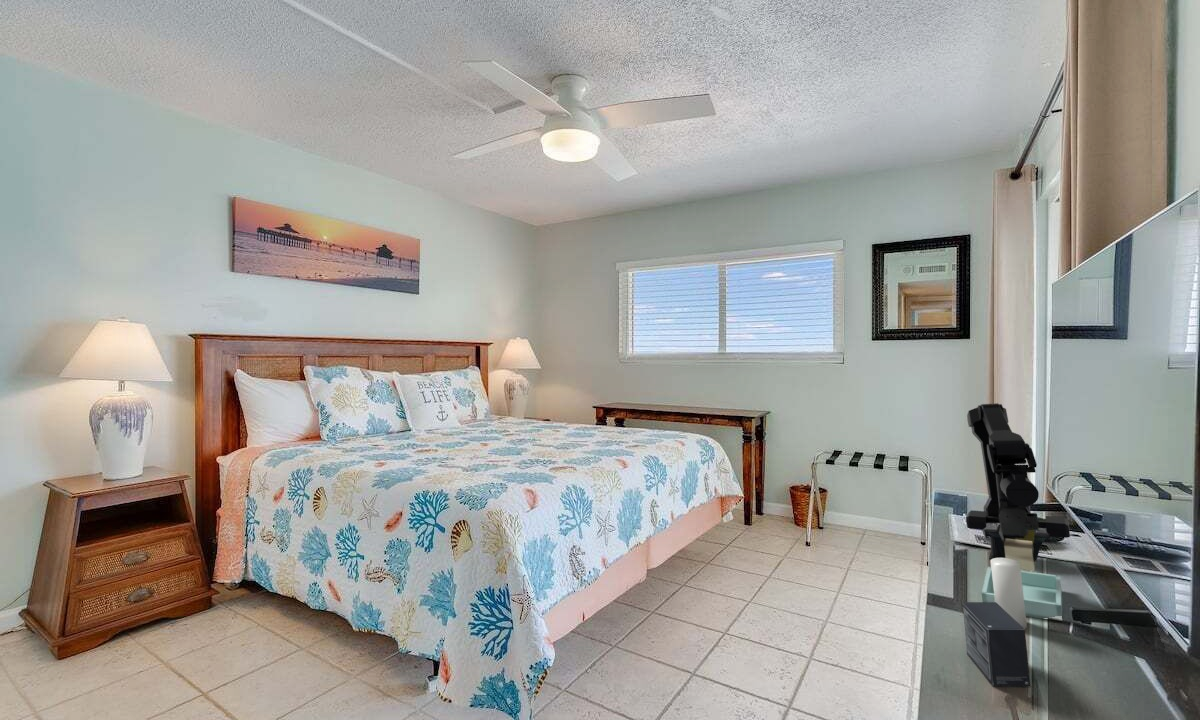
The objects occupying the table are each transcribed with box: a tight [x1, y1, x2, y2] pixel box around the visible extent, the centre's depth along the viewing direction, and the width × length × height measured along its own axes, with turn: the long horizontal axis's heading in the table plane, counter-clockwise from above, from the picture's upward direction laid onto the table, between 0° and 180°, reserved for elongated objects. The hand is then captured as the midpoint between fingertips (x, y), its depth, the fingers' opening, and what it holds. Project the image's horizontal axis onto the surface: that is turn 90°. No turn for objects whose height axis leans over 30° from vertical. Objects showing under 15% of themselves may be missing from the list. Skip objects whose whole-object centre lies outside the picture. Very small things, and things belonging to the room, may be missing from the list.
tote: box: [981, 566, 1063, 619], centre depth 124 cm, size 16×14×4 cm
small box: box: [961, 601, 1031, 688], centre depth 102 cm, size 11×6×10 cm, turn 169°
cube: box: [1004, 539, 1036, 572], centre depth 127 cm, size 5×5×5 cm
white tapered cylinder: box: [990, 558, 1027, 630], centre depth 116 cm, size 5×5×13 cm
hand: (1020, 559), depth 127 cm, fingers closed on cube, 5 cm apart
